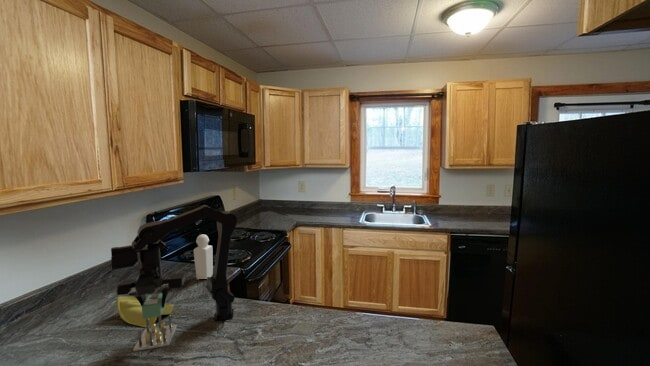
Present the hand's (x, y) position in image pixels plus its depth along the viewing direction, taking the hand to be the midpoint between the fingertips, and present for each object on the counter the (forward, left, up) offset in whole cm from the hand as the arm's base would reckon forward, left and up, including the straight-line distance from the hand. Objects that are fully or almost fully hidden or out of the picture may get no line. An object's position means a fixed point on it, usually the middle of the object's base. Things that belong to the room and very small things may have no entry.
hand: (154, 308), depth 96 cm
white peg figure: (-48, +9, -11) cm, 50 cm away
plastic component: (-17, -9, -11) cm, 22 cm away
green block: (0, 0, -1) cm, 1 cm away
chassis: (0, 0, -10) cm, 10 cm away
